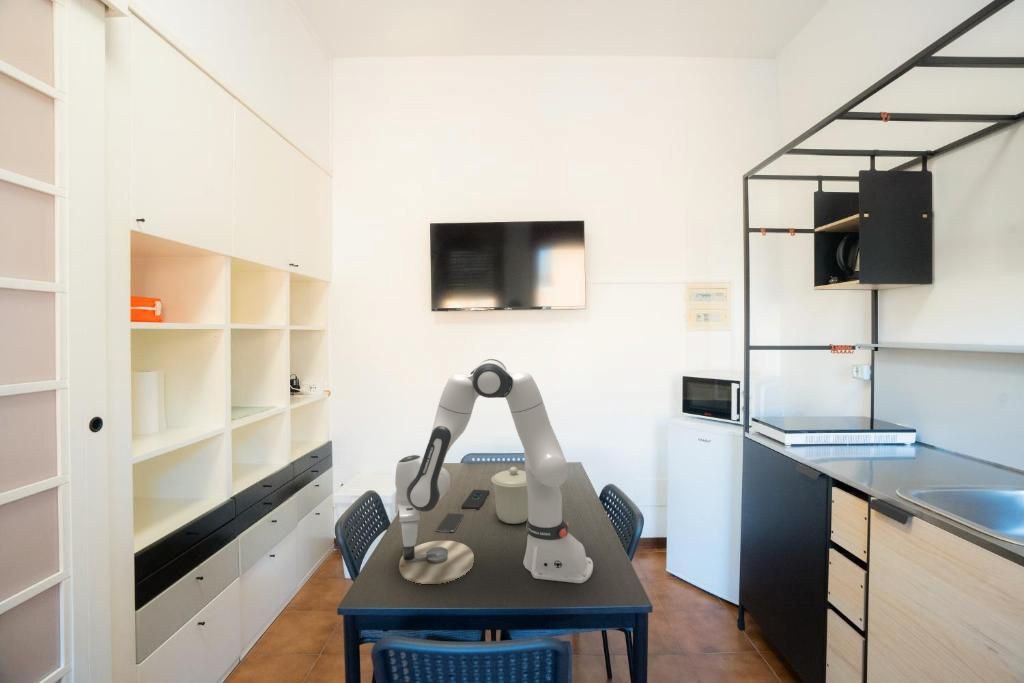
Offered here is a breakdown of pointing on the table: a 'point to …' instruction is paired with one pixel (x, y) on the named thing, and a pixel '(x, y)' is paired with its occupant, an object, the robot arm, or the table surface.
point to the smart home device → (475, 499)
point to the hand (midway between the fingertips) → (408, 546)
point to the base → (438, 564)
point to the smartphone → (450, 522)
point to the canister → (511, 495)
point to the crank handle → (426, 555)
